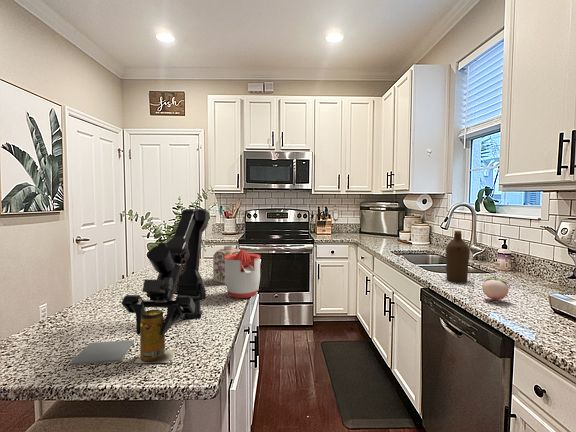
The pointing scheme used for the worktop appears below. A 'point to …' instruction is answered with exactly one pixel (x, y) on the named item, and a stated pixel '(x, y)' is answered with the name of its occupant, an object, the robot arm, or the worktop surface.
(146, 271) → the worktop surface
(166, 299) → the robot arm
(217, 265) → the decorative jar
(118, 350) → the mat
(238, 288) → the citrus juicer
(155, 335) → the condiment
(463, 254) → the olive oil
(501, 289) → the decorative fruit
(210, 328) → the worktop surface
